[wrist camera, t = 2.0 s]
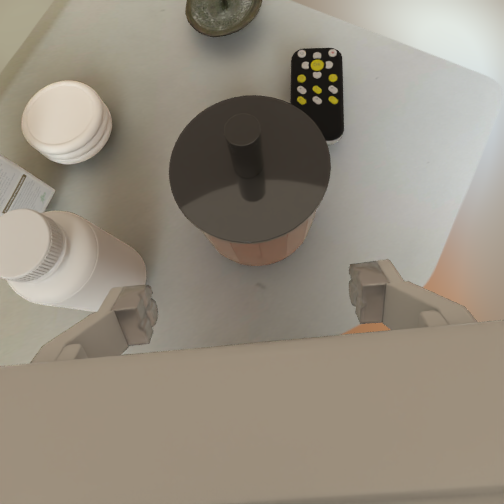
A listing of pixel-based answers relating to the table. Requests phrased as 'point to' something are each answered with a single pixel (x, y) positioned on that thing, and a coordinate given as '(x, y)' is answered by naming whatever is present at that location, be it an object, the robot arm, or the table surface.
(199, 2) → the lid
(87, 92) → the white short ribbed cylinder
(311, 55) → the remote control
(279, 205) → the jar lid
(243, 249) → the jar
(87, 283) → the pill bottle
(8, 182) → the syrup box
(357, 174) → the table surface
